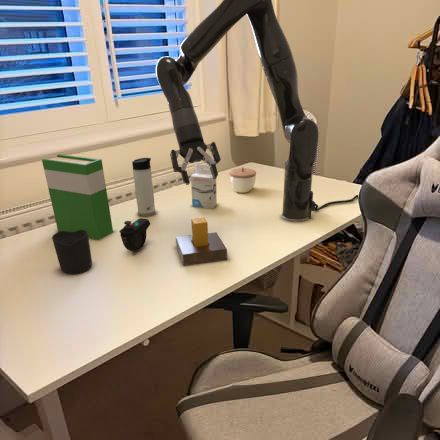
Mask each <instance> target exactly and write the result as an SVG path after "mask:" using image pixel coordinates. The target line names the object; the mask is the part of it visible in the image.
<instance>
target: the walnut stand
mask: <svg viewBox="0 0 440 440" xmlns="http://www.w3.org/2000/svg"><path fill="white" fill-rule="evenodd" d="M175 245H176V250H177V252H178V255H179V258H180V260H181V263H182V265H183V266H190V265H197V264H205V263H206V264H207V263H214V262H221V261H227V260H228V249H227V247H226V245H225V244H224V242H223V240H222V239H221V237H220V235H219V234H218V232H217V231H216V232H215V231H214V232H208V245H207V246H199V247H194V246H193V240H192V234H190V235H181V236H176V237H175Z"/></svg>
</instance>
